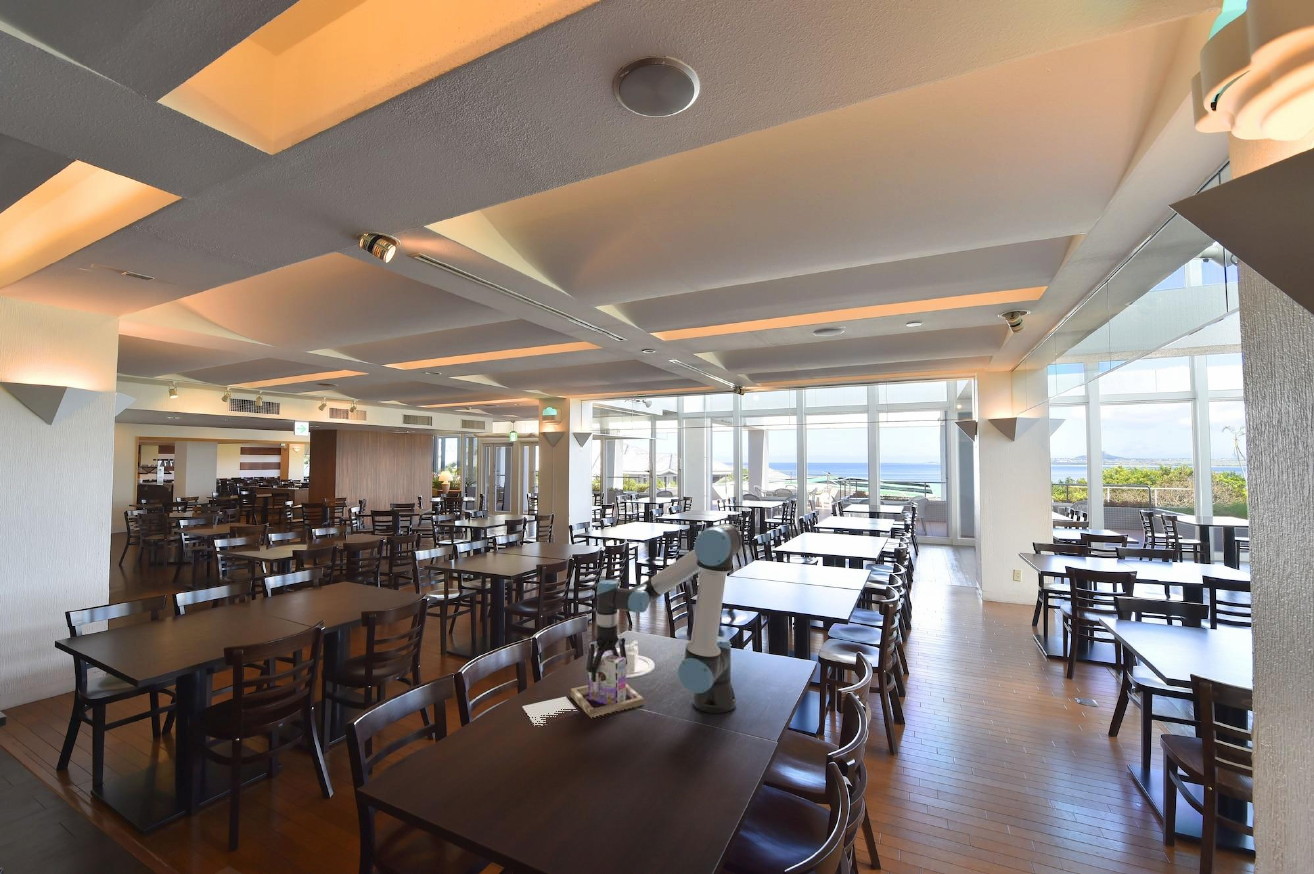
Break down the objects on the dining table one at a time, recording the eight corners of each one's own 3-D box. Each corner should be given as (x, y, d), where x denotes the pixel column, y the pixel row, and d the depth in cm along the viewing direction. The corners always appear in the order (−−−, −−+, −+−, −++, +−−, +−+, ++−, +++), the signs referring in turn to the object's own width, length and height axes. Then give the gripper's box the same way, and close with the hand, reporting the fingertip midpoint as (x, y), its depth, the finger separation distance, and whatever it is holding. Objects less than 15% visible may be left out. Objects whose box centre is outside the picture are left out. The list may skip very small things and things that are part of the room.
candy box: (627, 703, 191) (627, 657, 192) (616, 710, 186) (616, 662, 187) (598, 693, 199) (598, 649, 200) (587, 699, 194) (587, 654, 195)
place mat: (585, 721, 178) (585, 719, 178) (538, 733, 170) (538, 731, 170) (565, 698, 196) (565, 696, 196) (522, 707, 188) (522, 706, 188)
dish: (657, 658, 236) (657, 632, 237) (651, 681, 211) (651, 652, 212) (602, 655, 239) (602, 630, 239) (590, 678, 214) (590, 650, 214)
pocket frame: (643, 706, 189) (643, 698, 189) (591, 720, 179) (591, 711, 179) (619, 685, 206) (619, 678, 206) (570, 696, 197) (570, 688, 197)
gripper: (628, 617, 202) (628, 678, 201) (576, 625, 192) (576, 689, 191) (637, 622, 196) (637, 685, 195) (584, 631, 186) (583, 698, 185)
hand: (606, 687), depth 193 cm, fingers closed on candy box, 8 cm apart
